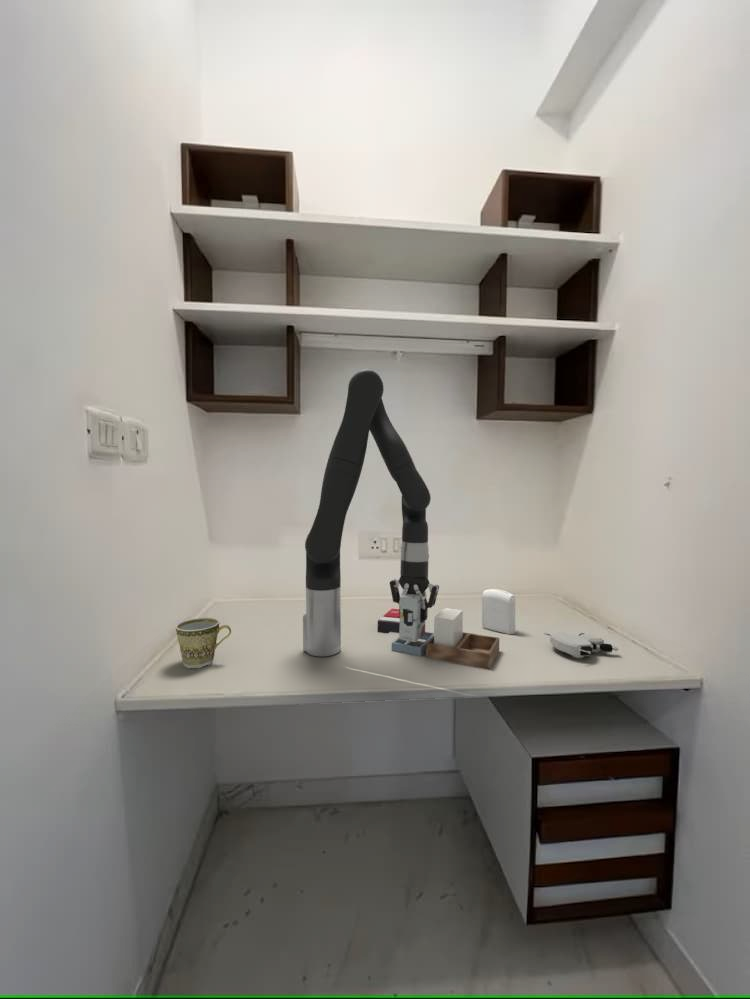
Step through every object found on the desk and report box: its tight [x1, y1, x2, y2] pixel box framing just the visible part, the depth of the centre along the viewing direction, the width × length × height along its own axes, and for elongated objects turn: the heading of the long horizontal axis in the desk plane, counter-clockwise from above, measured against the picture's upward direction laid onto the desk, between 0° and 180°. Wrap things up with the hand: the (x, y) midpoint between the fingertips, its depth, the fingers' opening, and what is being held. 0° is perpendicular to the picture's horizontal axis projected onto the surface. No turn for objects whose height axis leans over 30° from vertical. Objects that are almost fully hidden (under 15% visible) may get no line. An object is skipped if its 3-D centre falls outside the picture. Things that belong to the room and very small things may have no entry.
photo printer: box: [481, 588, 516, 635], centre depth 129 cm, size 10×4×12 cm, turn 44°
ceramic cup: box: [175, 617, 232, 670], centre depth 105 cm, size 13×10×10 cm
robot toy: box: [543, 631, 619, 659], centre depth 112 cm, size 12×4×15 cm
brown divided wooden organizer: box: [425, 632, 500, 670], centre depth 110 cm, size 16×12×4 cm
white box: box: [433, 607, 464, 647], centre depth 111 cm, size 5×9×10 cm, turn 153°
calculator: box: [377, 608, 400, 634], centre depth 133 cm, size 11×4×15 cm
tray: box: [391, 631, 434, 657], centre depth 116 cm, size 8×12×2 cm
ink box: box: [398, 590, 427, 643], centre depth 115 cm, size 9×5×12 cm, turn 155°
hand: (413, 619), depth 115 cm, fingers closed on ink box, 5 cm apart
